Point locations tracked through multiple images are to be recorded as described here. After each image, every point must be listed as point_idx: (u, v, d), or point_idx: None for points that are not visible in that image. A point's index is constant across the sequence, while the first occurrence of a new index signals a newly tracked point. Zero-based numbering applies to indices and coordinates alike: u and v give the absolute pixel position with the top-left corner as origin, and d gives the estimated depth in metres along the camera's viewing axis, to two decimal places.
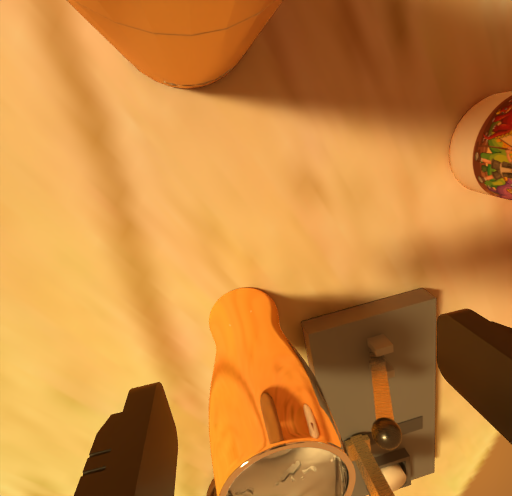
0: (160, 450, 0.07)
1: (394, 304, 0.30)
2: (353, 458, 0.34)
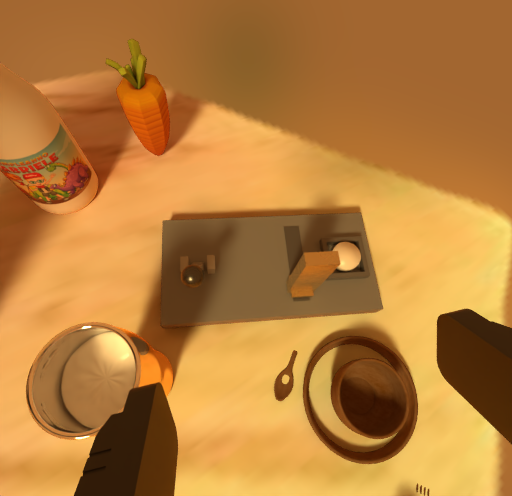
0: (160, 450, 0.07)
1: None
2: (309, 291, 0.35)
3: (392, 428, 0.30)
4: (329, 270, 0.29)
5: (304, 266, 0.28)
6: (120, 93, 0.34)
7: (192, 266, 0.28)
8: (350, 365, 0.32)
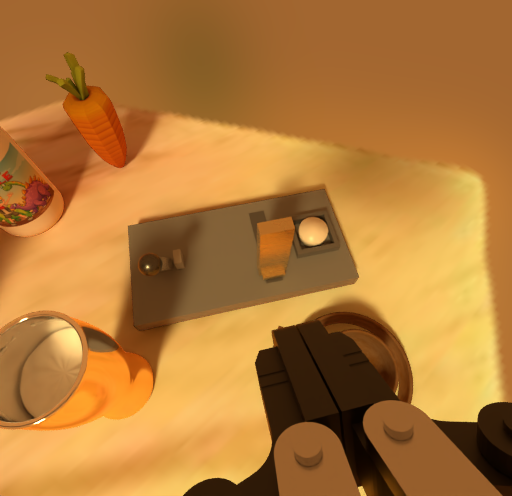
0: None
1: None
2: (280, 270, 0.35)
3: None
4: (287, 239, 0.29)
5: (259, 236, 0.28)
6: (66, 107, 0.35)
7: (147, 254, 0.28)
8: None
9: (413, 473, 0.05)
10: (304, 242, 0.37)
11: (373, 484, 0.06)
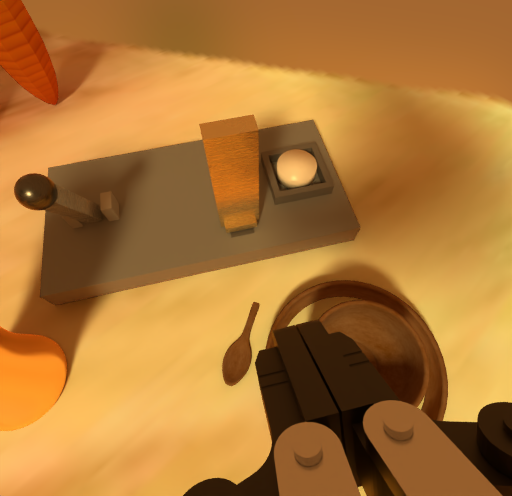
0: None
1: None
2: (250, 218, 0.25)
3: None
4: (250, 154, 0.19)
5: None
6: None
7: (29, 174, 0.18)
8: (326, 313, 0.20)
9: (413, 473, 0.05)
10: (284, 182, 0.27)
11: (373, 484, 0.06)
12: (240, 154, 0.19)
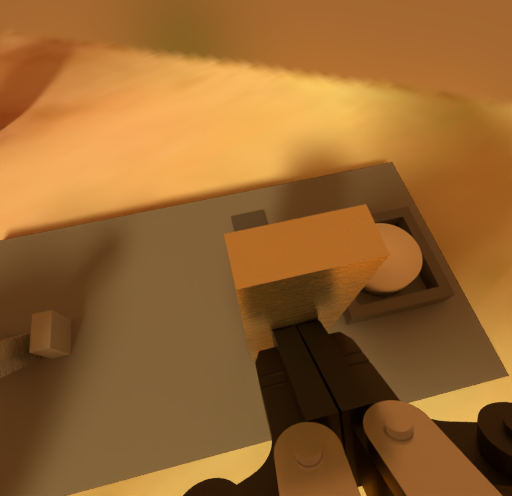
0: None
1: None
2: None
3: None
4: (345, 290, 0.08)
5: None
6: None
7: None
8: None
9: (413, 473, 0.05)
10: None
11: (373, 483, 0.06)
12: (322, 294, 0.08)
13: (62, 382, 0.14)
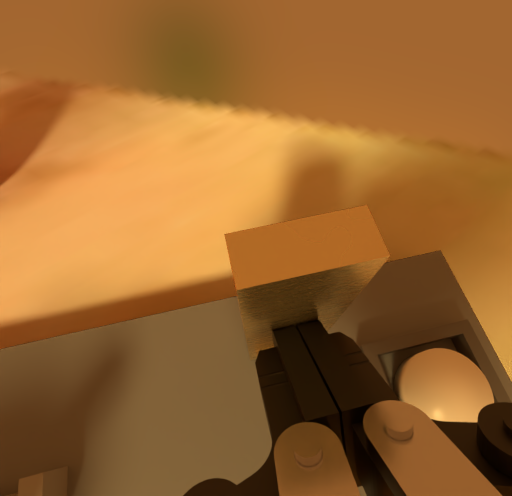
0: None
1: None
2: None
3: None
4: (345, 291, 0.08)
5: None
6: None
7: None
8: None
9: (413, 473, 0.05)
10: None
11: (374, 484, 0.06)
12: (322, 294, 0.08)
13: None
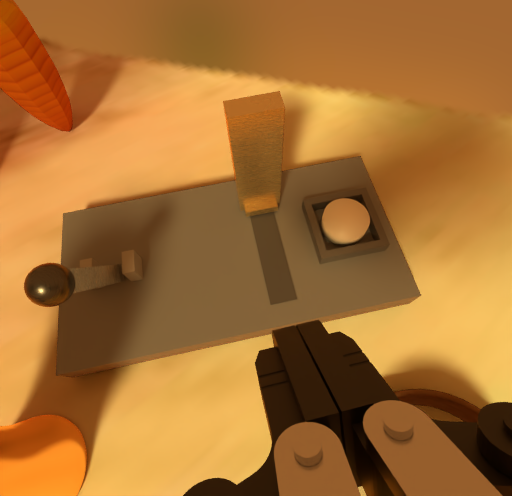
0: None
1: None
2: (271, 202, 0.24)
3: None
4: (275, 134, 0.18)
5: (227, 123, 0.17)
6: None
7: (42, 266, 0.15)
8: None
9: (413, 473, 0.05)
10: (331, 238, 0.23)
11: (373, 484, 0.06)
12: (264, 133, 0.18)
13: (139, 295, 0.23)
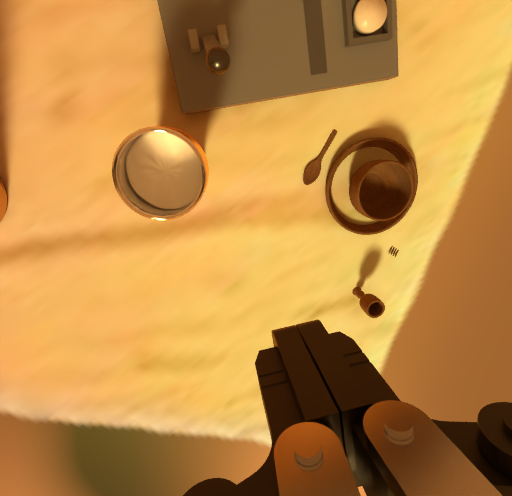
0: None
1: None
2: None
3: (390, 214, 0.39)
4: None
5: None
6: None
7: (217, 49, 0.26)
8: (376, 165, 0.37)
9: (413, 473, 0.05)
10: (357, 28, 0.34)
11: (374, 484, 0.06)
12: None
13: None
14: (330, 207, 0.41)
